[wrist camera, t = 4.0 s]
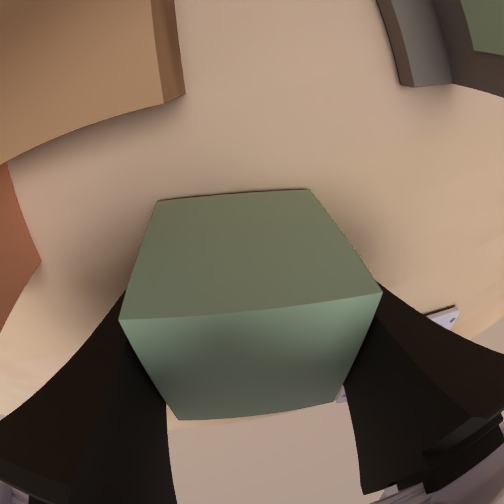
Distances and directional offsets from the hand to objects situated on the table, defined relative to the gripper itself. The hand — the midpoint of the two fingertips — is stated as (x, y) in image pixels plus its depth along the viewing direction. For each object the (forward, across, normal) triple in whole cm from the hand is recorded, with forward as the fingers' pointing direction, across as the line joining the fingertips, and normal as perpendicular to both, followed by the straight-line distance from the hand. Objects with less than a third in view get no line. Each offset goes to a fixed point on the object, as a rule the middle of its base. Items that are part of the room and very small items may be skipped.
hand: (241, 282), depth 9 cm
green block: (+1, 0, 0) cm, 1 cm away
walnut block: (+2, +5, -9) cm, 10 cm away
